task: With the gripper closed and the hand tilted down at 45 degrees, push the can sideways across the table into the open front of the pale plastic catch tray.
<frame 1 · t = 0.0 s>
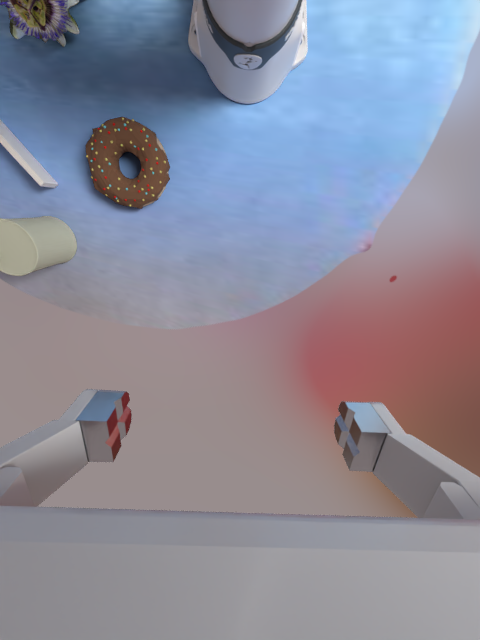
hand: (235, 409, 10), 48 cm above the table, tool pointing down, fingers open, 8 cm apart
passion flower: (53, 6, 41), on the table
can: (54, 240, 54), on the table
donut: (133, 168, 49), on the table
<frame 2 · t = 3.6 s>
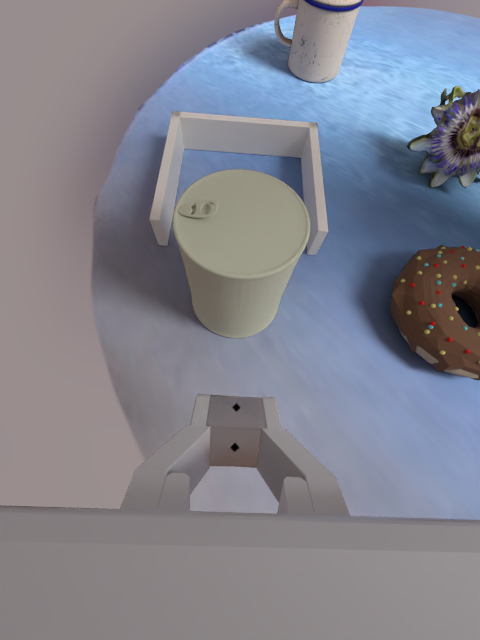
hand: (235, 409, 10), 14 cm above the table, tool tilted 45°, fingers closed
passion flower: (439, 168, 38), on the table
catch tray: (240, 197, 33), on the table
can: (235, 297, 28), on the table
donut: (439, 318, 29), on the table
teacup with lid: (304, 68, 45), on the table
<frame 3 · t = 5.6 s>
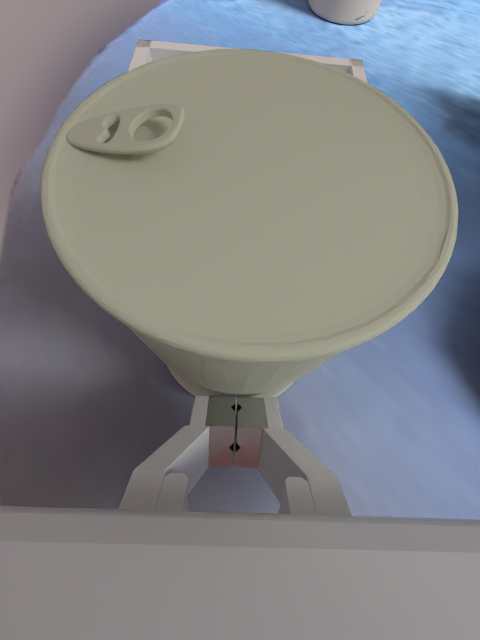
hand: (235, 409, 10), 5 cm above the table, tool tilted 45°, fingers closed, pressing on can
catch tray: (244, 174, 22), on the table
can: (236, 331, 17), on the table, touching gripper
teacup with lid: (329, 9, 33), on the table
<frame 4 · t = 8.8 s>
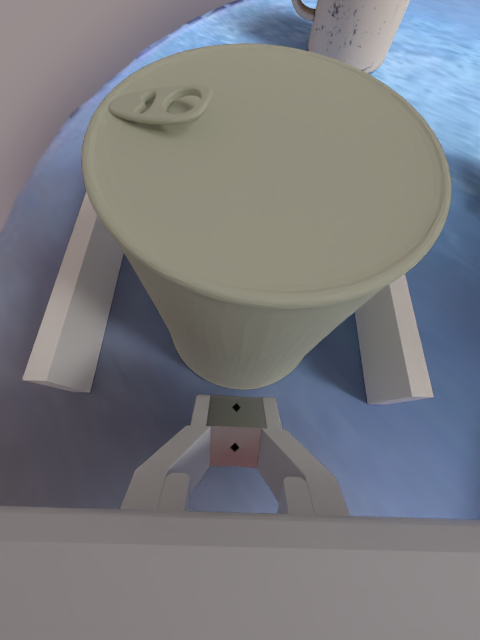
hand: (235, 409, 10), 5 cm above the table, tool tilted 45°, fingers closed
catch tray: (237, 278, 18), on the table
can: (241, 318, 17), on the table
teacup with lid: (331, 55, 30), on the table
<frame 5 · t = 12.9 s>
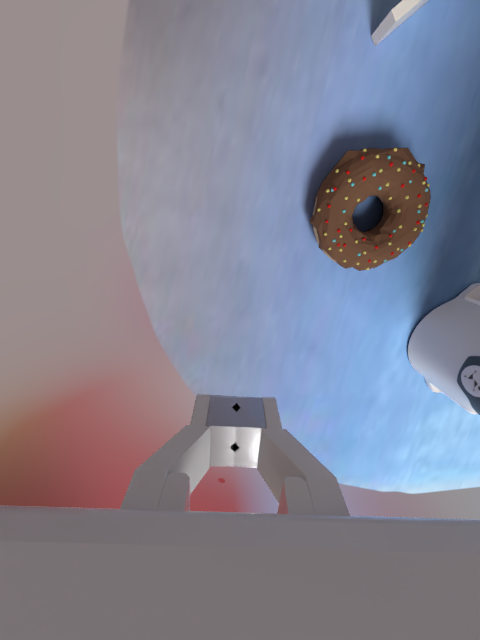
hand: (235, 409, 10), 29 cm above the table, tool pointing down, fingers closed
donut: (358, 210, 35), on the table
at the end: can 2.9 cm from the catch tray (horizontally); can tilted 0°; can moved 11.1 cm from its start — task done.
